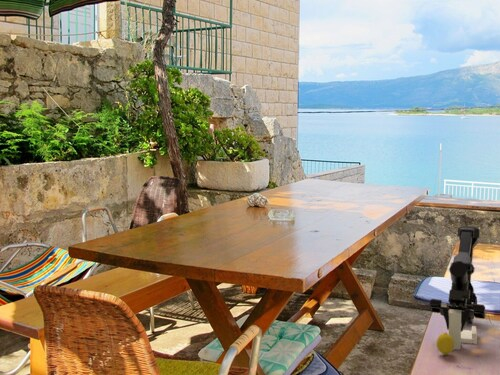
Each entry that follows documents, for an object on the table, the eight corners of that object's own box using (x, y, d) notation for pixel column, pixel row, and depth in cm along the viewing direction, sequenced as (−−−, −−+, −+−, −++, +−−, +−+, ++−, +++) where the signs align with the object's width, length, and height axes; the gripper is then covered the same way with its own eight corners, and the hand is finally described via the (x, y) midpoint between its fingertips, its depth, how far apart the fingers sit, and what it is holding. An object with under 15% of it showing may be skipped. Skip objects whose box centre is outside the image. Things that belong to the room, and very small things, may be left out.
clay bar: (448, 344, 214) (449, 309, 213) (460, 345, 213) (461, 310, 211) (448, 348, 210) (449, 312, 209) (460, 349, 209) (461, 313, 208)
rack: (450, 332, 225) (451, 323, 225) (476, 335, 222) (476, 326, 222) (450, 341, 217) (450, 331, 216) (476, 344, 214) (477, 334, 213)
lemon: (433, 353, 206) (433, 331, 205) (446, 350, 208) (446, 328, 207) (443, 359, 201) (444, 336, 200) (456, 357, 203) (457, 334, 202)
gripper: (430, 277, 216) (424, 316, 208) (486, 282, 208) (482, 323, 200) (433, 292, 224) (428, 330, 216) (486, 298, 216) (483, 338, 208)
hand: (454, 330), depth 210 cm, fingers closed on clay bar, 4 cm apart
